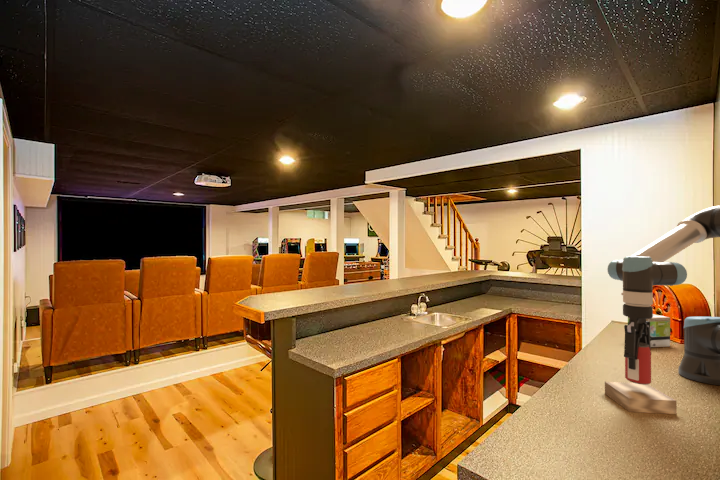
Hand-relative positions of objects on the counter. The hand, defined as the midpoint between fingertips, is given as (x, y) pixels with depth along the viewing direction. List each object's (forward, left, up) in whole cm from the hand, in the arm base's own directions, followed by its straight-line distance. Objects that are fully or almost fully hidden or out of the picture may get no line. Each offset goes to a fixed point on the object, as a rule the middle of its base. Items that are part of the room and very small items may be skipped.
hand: (637, 376), depth 112 cm
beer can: (0, 0, -2) cm, 2 cm away
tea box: (-48, -71, -9) cm, 86 cm away
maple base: (0, 0, -8) cm, 8 cm away
